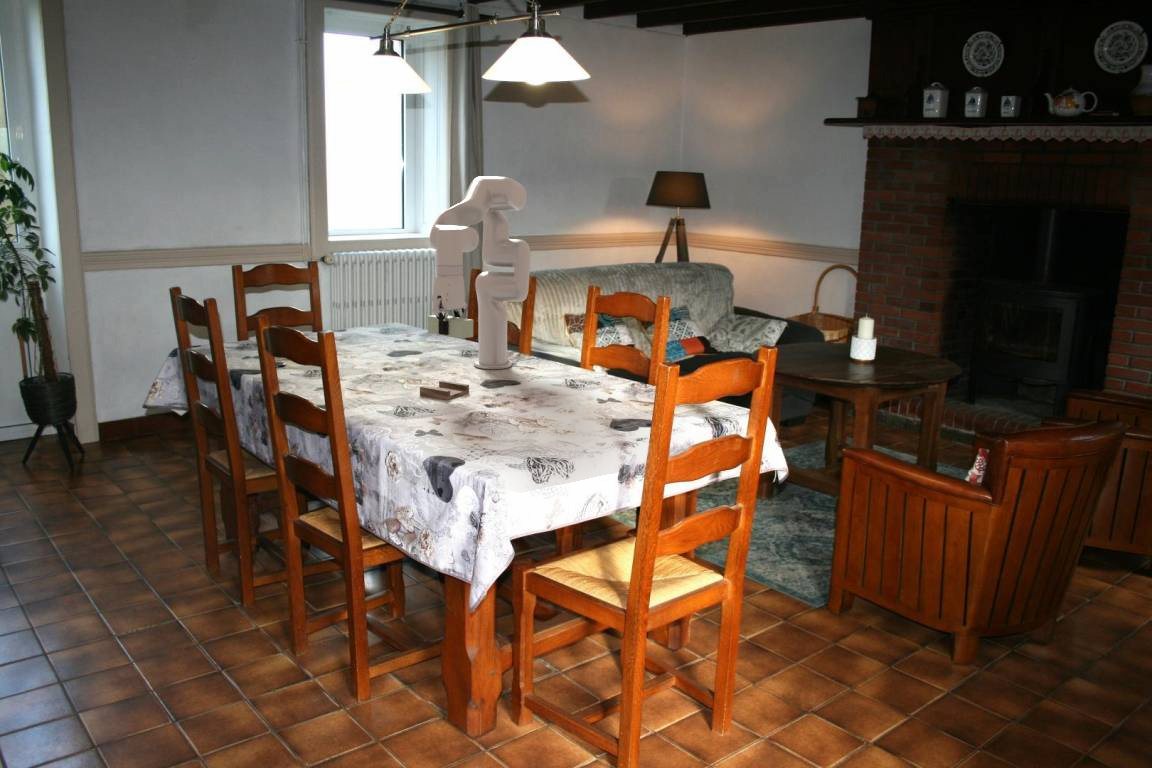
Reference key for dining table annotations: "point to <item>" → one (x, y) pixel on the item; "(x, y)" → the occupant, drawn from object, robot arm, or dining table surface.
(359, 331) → the dining table surface
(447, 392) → the cradle
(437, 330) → the peg
